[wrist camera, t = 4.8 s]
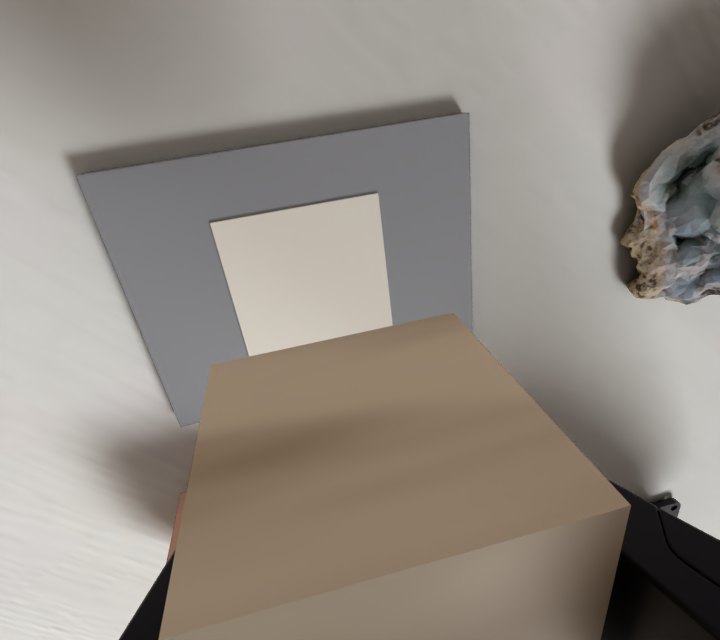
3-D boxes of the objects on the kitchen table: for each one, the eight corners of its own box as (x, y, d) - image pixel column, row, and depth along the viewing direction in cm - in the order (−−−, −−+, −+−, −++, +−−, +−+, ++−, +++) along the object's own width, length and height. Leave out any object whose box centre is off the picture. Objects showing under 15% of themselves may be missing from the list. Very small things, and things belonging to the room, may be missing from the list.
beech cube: (459, 482, 11) (582, 717, 7) (268, 532, 11) (273, 823, 6) (453, 312, 9) (631, 505, 5) (210, 364, 9) (159, 639, 4)
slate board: (467, 353, 22) (473, 360, 21) (182, 418, 20) (180, 428, 20) (462, 112, 17) (470, 113, 16) (82, 173, 15) (74, 176, 15)
